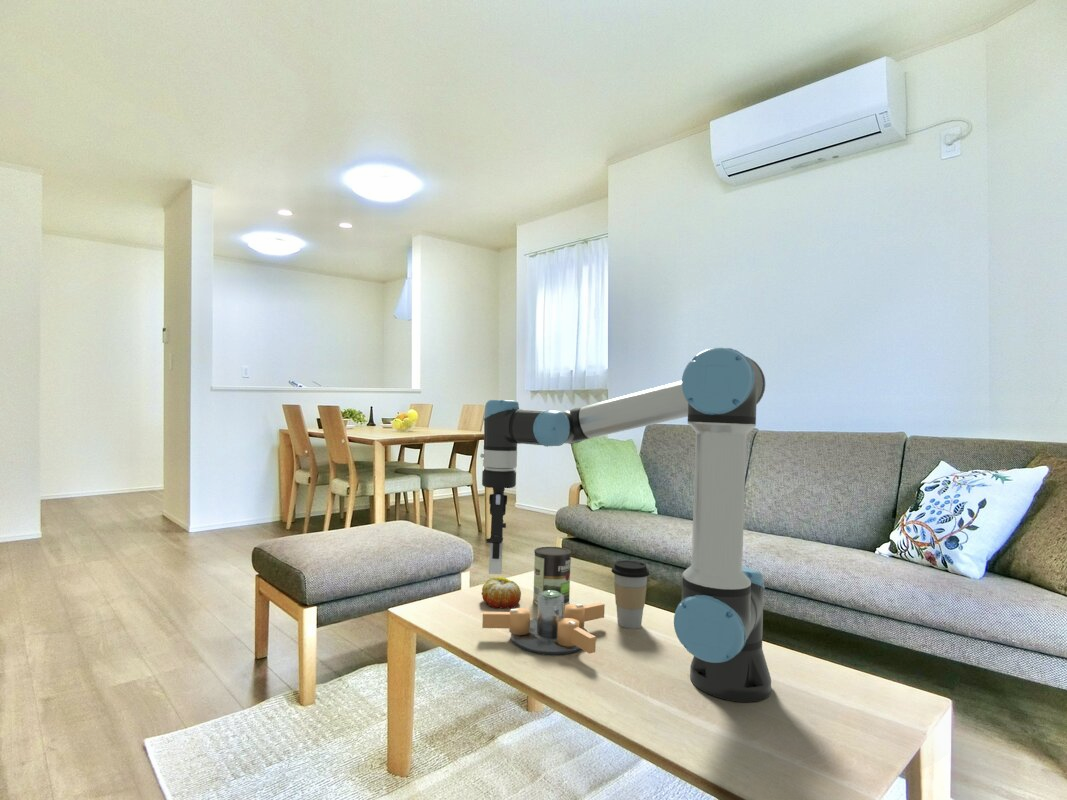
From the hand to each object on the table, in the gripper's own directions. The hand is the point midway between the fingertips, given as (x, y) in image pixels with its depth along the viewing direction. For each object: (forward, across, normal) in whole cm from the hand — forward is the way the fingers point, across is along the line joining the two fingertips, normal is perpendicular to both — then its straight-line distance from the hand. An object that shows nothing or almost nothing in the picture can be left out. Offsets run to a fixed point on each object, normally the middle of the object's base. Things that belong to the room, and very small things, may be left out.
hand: (495, 564), depth 125 cm
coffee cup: (+18, -15, +34) cm, 41 cm away
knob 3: (+16, +4, +18) cm, 25 cm away
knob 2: (+16, -10, +22) cm, 29 cm away
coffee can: (+19, -32, +16) cm, 40 cm away
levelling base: (+18, -5, +13) cm, 23 cm away
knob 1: (+17, -5, +3) cm, 18 cm away
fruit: (+19, -29, +2) cm, 35 cm away
